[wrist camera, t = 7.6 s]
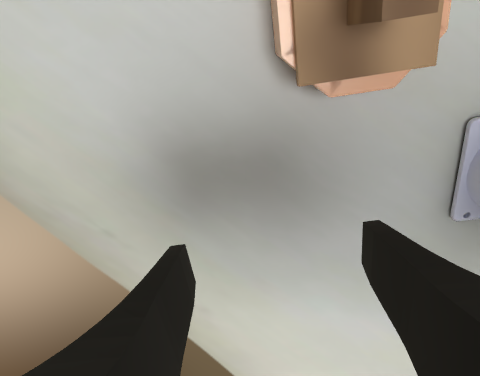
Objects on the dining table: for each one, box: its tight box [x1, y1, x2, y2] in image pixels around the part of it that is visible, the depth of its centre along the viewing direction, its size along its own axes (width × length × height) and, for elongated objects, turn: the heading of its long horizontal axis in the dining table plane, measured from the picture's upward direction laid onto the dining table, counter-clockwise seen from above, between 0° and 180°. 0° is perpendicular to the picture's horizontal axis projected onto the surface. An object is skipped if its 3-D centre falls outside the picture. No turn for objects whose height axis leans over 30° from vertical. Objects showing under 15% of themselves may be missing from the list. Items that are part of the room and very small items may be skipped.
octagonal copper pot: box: [271, 0, 451, 97], centre depth 16 cm, size 8×8×3 cm
